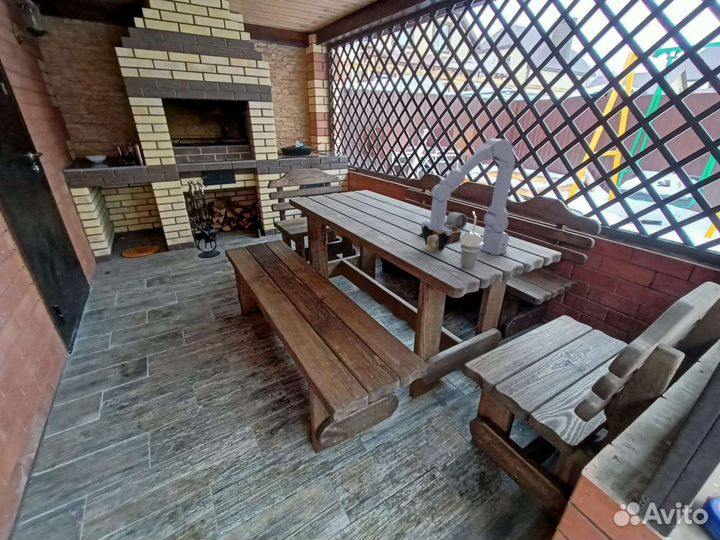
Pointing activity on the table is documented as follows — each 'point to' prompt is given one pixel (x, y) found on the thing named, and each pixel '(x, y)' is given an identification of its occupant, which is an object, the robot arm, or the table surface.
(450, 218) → the ceramic mug
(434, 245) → the birch block
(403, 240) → the table surface
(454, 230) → the decorative book
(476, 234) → the cup with straw
